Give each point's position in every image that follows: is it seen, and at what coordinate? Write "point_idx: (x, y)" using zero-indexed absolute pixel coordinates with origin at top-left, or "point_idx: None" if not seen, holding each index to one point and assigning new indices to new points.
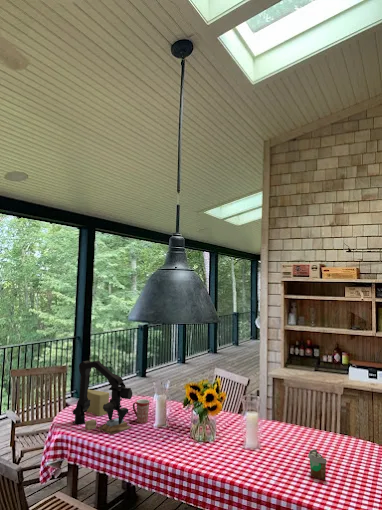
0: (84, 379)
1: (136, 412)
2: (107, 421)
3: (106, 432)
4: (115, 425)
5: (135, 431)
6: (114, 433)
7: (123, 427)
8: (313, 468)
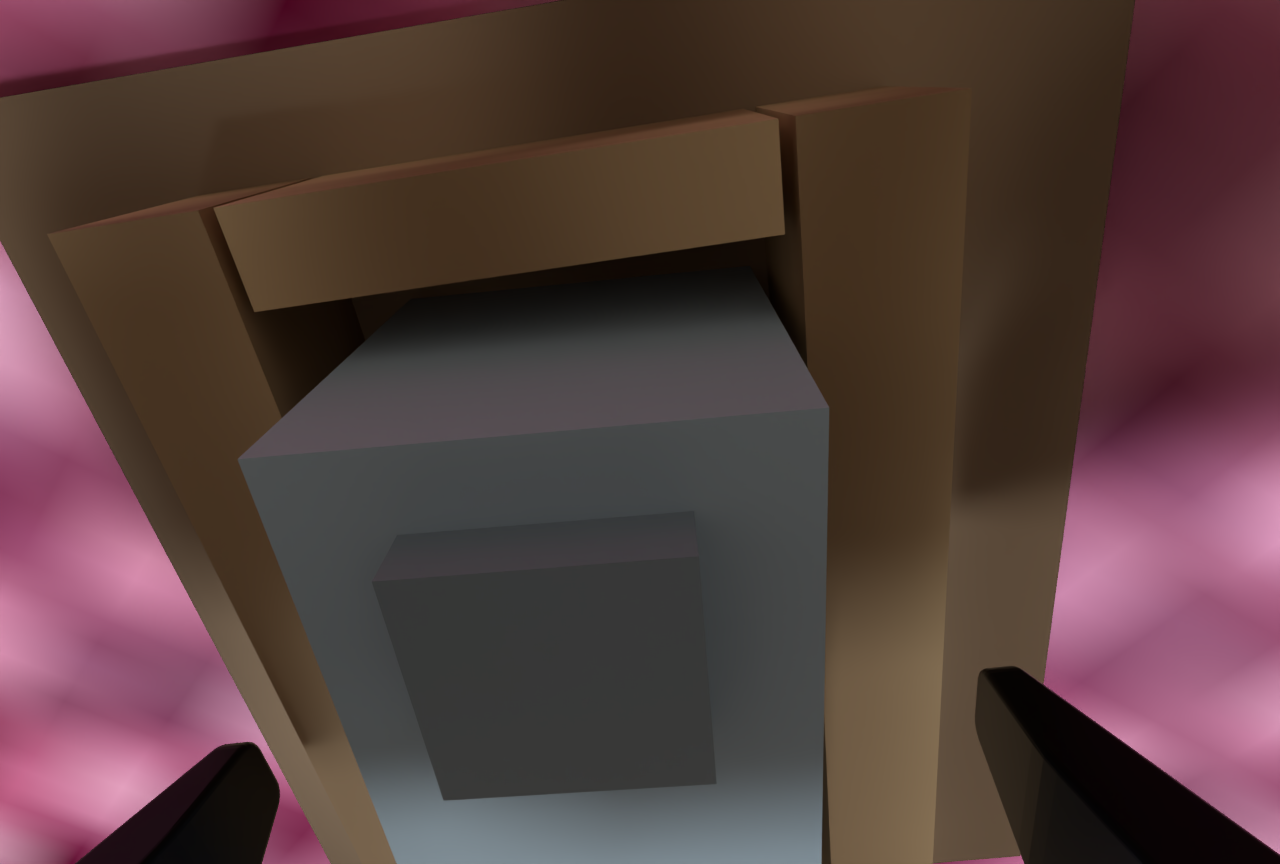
0: None
1: None
2: (707, 417)
3: (368, 42)
4: None
5: (54, 835)
6: (45, 267)
7: None
8: None
